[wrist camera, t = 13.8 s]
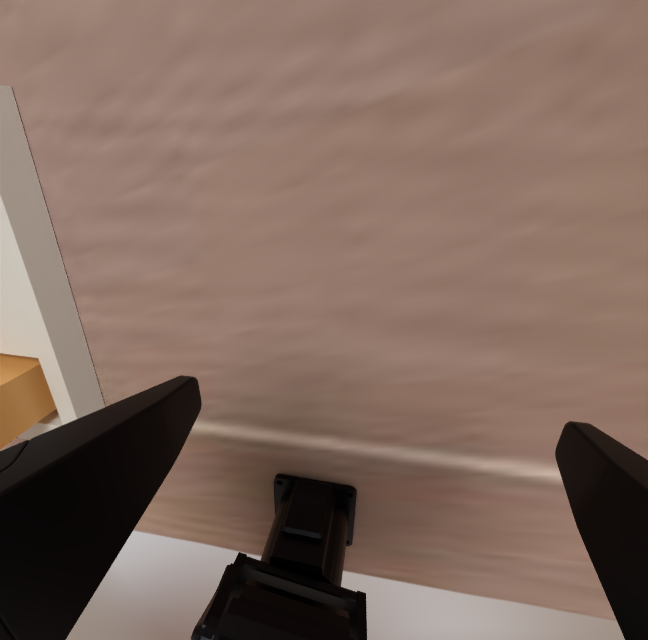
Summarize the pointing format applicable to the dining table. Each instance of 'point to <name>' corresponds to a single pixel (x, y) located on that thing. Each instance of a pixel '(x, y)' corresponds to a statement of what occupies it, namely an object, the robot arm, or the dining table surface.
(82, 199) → the dining table surface
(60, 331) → the white slotted frame
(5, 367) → the orange plug
